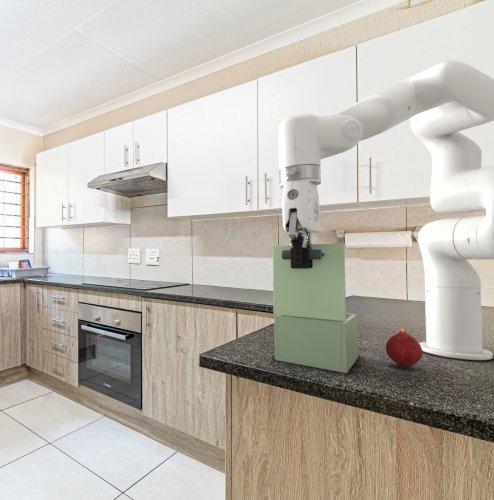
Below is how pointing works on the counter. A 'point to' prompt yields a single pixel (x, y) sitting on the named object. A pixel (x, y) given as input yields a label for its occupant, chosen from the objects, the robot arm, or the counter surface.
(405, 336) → the onion
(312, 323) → the chest
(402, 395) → the counter surface
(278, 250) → the lid
